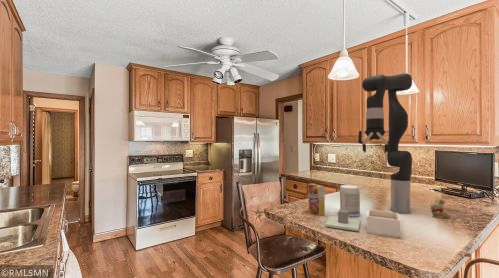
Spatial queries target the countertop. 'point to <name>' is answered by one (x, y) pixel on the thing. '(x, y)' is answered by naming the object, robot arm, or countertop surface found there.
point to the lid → (343, 221)
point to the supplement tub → (350, 199)
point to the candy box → (316, 199)
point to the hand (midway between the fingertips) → (375, 152)
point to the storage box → (383, 223)
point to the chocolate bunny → (439, 210)
